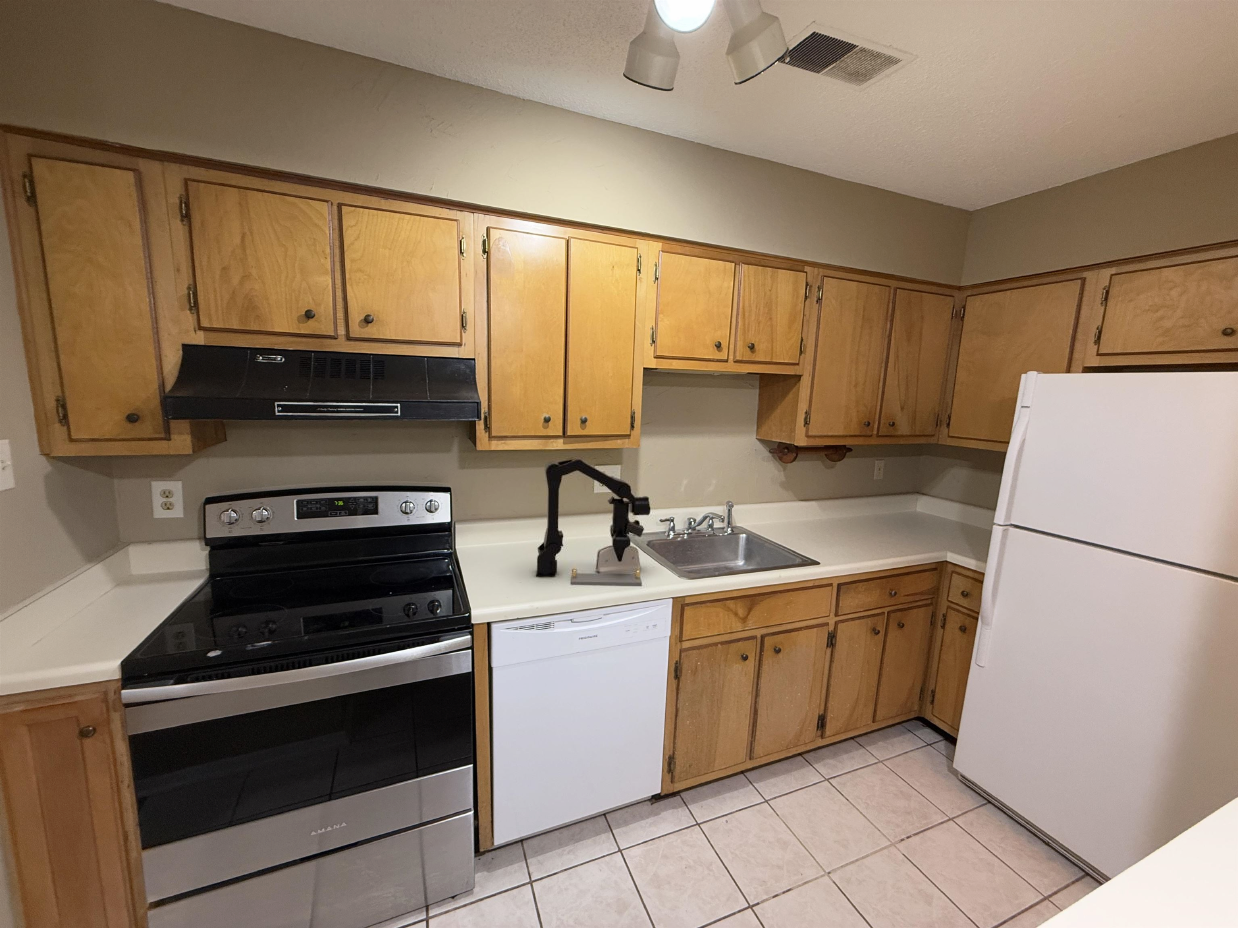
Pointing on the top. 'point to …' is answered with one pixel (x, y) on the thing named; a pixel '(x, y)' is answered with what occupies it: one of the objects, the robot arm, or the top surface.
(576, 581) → the plate
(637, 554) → the curved beige panel
